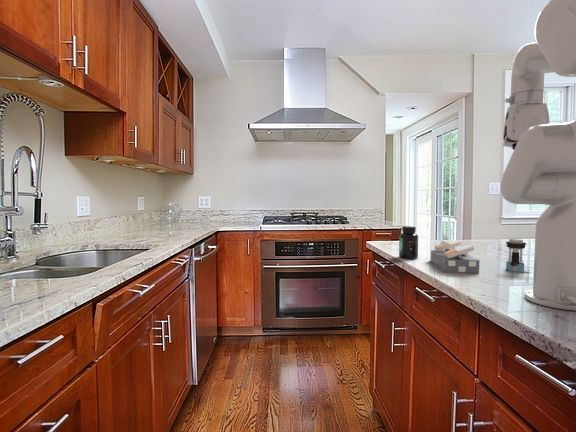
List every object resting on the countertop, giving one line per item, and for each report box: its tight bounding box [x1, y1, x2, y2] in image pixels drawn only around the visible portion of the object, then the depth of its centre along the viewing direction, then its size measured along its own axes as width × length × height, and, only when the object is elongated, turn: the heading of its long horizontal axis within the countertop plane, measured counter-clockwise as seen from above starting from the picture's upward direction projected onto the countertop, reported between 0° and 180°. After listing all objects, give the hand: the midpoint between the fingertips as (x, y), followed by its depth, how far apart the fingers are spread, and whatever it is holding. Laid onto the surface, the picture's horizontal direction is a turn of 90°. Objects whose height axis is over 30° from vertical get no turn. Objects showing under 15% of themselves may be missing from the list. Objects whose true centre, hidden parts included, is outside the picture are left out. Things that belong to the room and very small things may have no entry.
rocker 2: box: [439, 240, 469, 256], centre depth 113 cm, size 4×8×1 cm, turn 80°
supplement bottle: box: [398, 225, 419, 260], centre depth 129 cm, size 7×7×12 cm
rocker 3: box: [444, 244, 475, 258], centre depth 107 cm, size 4×8×1 cm, turn 80°
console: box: [430, 249, 480, 274], centre depth 113 cm, size 18×10×5 cm, turn 170°
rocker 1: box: [434, 239, 462, 251], centre depth 119 cm, size 4×8×1 cm, turn 80°
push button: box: [505, 238, 531, 273], centre depth 106 cm, size 7×5×10 cm
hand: (523, 166), depth 95 cm, fingers closed
